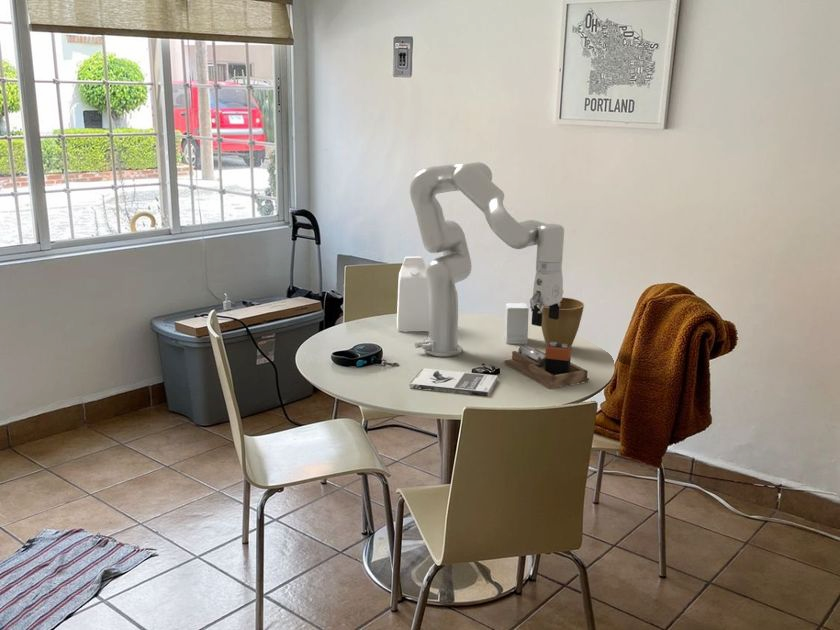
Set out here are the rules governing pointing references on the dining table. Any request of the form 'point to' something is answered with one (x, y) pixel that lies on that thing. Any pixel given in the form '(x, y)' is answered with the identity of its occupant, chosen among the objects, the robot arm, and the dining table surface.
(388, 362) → the dining table surface
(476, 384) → the book
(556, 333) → the plant pot
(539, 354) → the shaft
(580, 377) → the tray
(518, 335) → the supplement box
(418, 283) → the milk
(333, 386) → the dining table surface
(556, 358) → the battery
